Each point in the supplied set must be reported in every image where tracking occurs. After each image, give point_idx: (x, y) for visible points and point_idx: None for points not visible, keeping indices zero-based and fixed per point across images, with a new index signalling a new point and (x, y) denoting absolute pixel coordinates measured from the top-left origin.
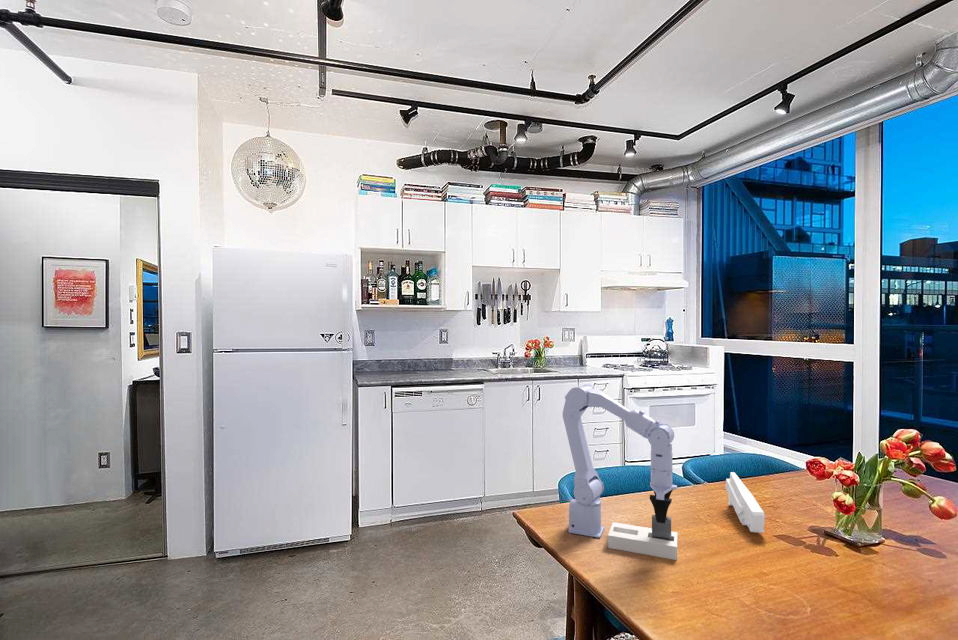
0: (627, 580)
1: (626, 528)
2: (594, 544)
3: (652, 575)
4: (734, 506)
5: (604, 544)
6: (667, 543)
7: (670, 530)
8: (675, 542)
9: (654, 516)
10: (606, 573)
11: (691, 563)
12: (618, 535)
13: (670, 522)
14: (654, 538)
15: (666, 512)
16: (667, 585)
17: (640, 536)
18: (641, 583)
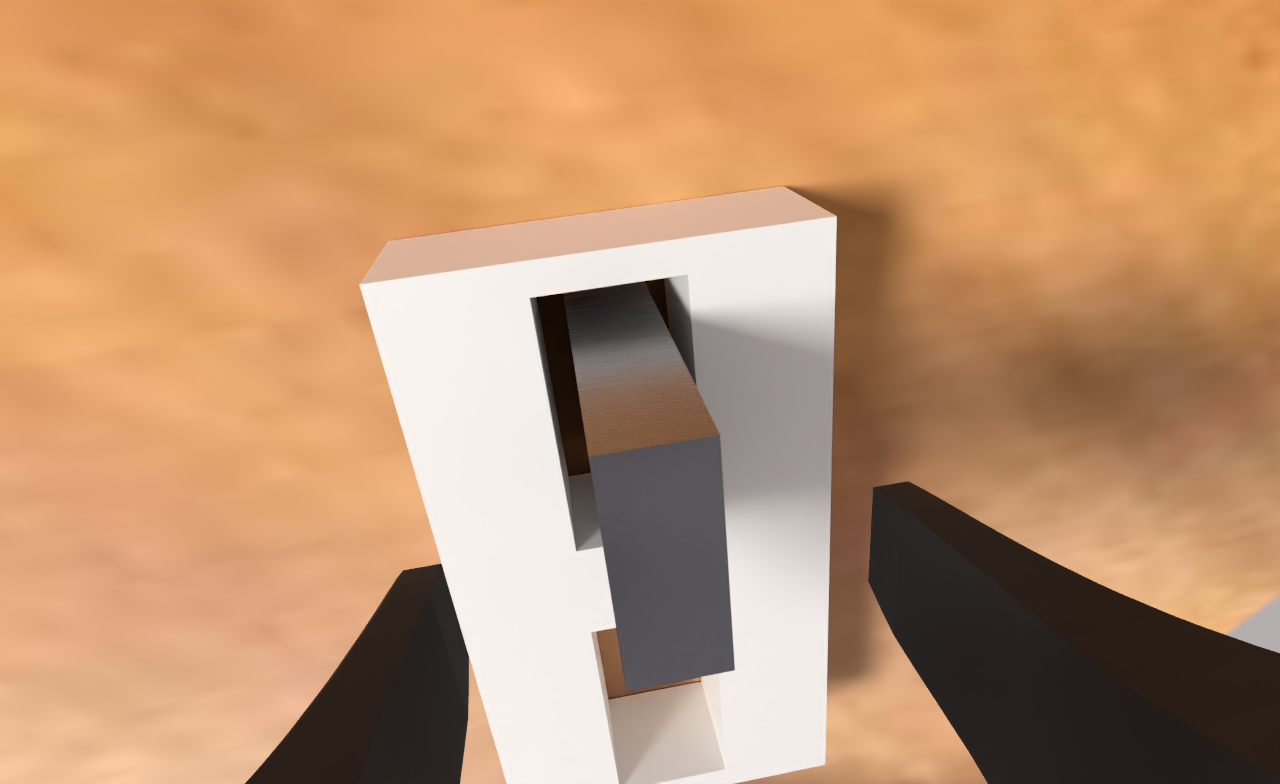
0: (1235, 445)
1: (601, 716)
2: None
3: (1134, 319)
4: None
5: None
6: (784, 327)
7: (685, 365)
8: (714, 252)
9: (688, 652)
10: (1164, 570)
11: (794, 30)
12: (793, 713)
13: (708, 420)
14: None
15: (1095, 586)
16: (1275, 182)
17: None
18: (1265, 359)
